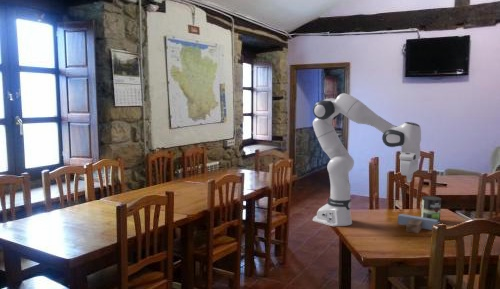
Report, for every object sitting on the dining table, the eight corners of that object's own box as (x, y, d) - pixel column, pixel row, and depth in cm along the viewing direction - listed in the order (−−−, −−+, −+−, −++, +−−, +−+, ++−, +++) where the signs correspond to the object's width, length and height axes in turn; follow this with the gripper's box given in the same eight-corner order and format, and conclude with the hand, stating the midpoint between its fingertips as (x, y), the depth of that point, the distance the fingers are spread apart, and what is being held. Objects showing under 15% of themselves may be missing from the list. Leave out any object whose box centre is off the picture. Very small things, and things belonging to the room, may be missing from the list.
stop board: (397, 223, 227) (398, 215, 226) (399, 222, 230) (400, 213, 229) (435, 230, 215) (436, 221, 214) (437, 228, 218) (437, 219, 218)
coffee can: (444, 223, 227) (445, 199, 226) (427, 224, 225) (429, 200, 224) (432, 218, 237) (433, 195, 236) (416, 219, 235) (418, 196, 234)
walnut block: (406, 231, 214) (406, 223, 214) (410, 226, 222) (410, 218, 222) (417, 233, 211) (418, 225, 210) (421, 228, 219) (422, 220, 218)
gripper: (409, 151, 210) (408, 177, 211) (398, 156, 193) (397, 184, 195) (422, 152, 206) (420, 179, 208) (412, 157, 190) (410, 186, 191)
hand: (409, 181), depth 201 cm, fingers closed
